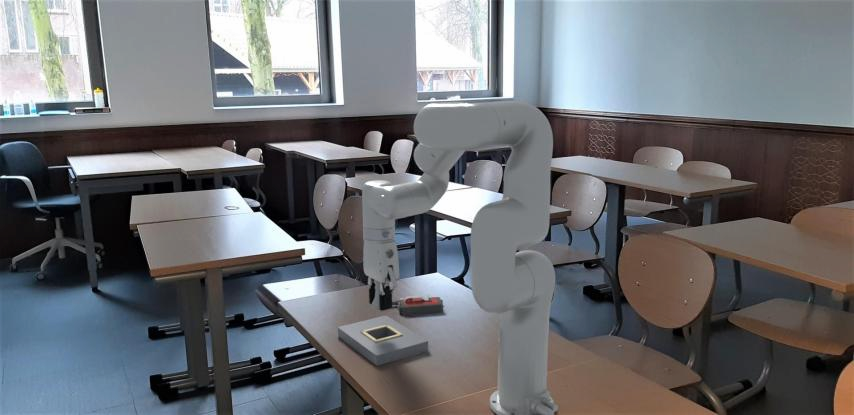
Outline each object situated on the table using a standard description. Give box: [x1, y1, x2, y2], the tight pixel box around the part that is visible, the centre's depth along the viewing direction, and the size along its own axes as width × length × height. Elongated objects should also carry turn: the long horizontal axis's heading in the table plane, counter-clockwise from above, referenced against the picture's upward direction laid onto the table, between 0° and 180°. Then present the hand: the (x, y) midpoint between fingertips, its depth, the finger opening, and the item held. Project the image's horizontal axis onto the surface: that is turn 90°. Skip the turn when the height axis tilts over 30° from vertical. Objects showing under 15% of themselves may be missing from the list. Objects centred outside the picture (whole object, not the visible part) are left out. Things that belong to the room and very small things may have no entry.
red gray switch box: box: [392, 294, 444, 317], centre depth 178 cm, size 9×4×20 cm
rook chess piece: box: [371, 279, 389, 313], centre depth 154 cm, size 4×4×8 cm
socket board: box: [337, 315, 429, 366], centre depth 156 cm, size 20×14×3 cm
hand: (380, 305), depth 154 cm, fingers closed on rook chess piece, 4 cm apart
